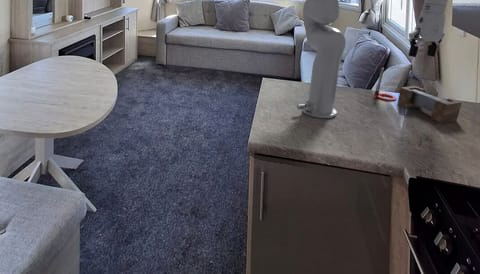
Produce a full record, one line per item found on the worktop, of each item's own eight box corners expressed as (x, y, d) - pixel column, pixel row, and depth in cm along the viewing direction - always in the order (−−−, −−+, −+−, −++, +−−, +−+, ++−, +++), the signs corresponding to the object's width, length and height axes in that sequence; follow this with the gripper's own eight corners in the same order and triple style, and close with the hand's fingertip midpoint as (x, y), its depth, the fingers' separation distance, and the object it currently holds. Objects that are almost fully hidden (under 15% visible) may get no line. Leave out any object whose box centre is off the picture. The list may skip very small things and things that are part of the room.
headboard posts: (456, 121, 148) (462, 102, 145) (441, 123, 145) (447, 104, 142) (410, 102, 166) (415, 85, 163) (397, 104, 163) (400, 87, 160)
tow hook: (396, 98, 173) (375, 93, 176) (404, 69, 167) (382, 65, 171) (394, 103, 166) (372, 98, 169) (402, 74, 160) (379, 69, 164)
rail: (446, 114, 148) (450, 102, 146) (441, 115, 147) (444, 102, 145) (412, 101, 162) (415, 89, 160) (407, 101, 161) (410, 90, 159)
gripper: (424, 9, 135) (412, 58, 142) (458, 11, 142) (445, 57, 149) (408, 7, 142) (397, 54, 148) (441, 8, 149) (429, 53, 155)
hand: (421, 56), depth 149 cm, fingers open, 9 cm apart
